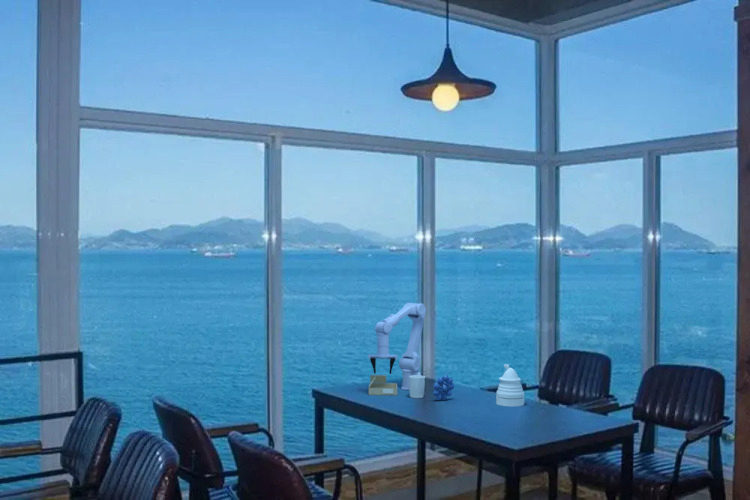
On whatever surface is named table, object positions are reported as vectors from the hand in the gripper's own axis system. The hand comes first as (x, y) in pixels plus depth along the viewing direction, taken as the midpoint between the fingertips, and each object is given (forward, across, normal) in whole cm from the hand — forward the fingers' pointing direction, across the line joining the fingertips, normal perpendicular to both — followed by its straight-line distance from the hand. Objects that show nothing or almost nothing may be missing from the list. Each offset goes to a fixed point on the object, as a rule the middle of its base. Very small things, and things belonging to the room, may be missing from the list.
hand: (382, 373), depth 382 cm
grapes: (+10, +30, -13) cm, 34 cm away
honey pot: (+10, +61, -18) cm, 64 cm away
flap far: (+6, -7, 0) cm, 9 cm away
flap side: (+6, -3, +10) cm, 12 cm away
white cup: (+10, +17, -7) cm, 21 cm away
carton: (+10, 0, +3) cm, 10 cm away
